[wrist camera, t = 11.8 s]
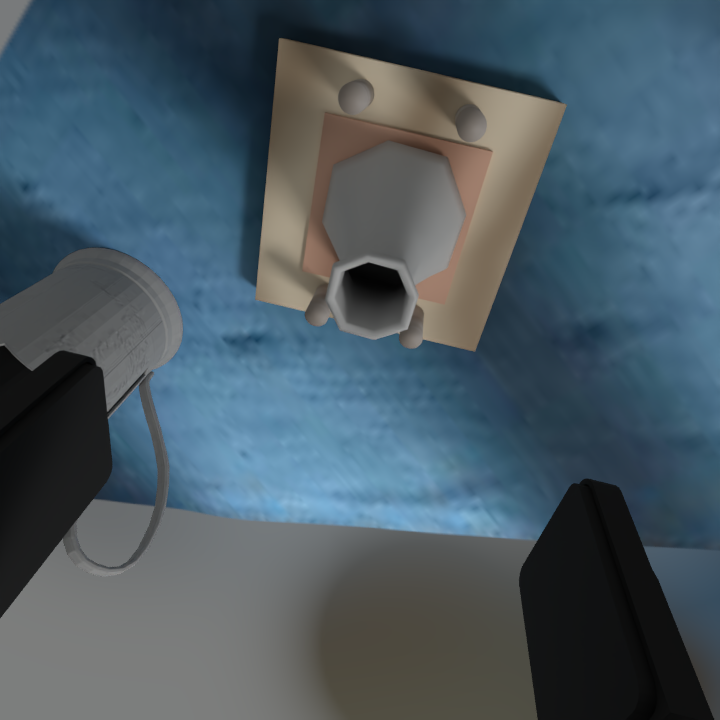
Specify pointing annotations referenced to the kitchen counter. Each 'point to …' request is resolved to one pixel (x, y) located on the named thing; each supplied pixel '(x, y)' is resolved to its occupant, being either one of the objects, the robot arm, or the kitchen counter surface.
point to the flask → (388, 234)
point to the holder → (98, 346)
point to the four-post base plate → (412, 128)
